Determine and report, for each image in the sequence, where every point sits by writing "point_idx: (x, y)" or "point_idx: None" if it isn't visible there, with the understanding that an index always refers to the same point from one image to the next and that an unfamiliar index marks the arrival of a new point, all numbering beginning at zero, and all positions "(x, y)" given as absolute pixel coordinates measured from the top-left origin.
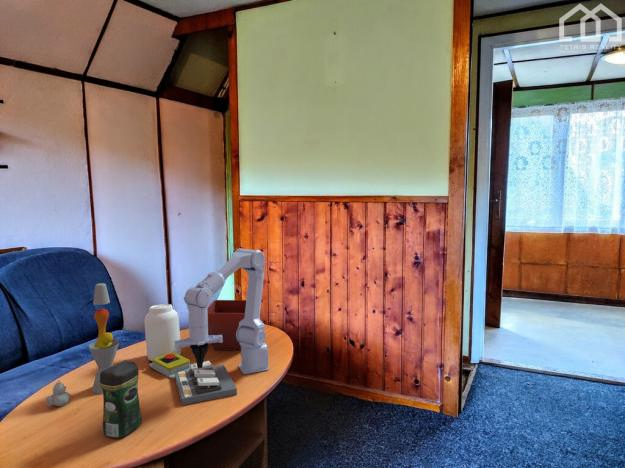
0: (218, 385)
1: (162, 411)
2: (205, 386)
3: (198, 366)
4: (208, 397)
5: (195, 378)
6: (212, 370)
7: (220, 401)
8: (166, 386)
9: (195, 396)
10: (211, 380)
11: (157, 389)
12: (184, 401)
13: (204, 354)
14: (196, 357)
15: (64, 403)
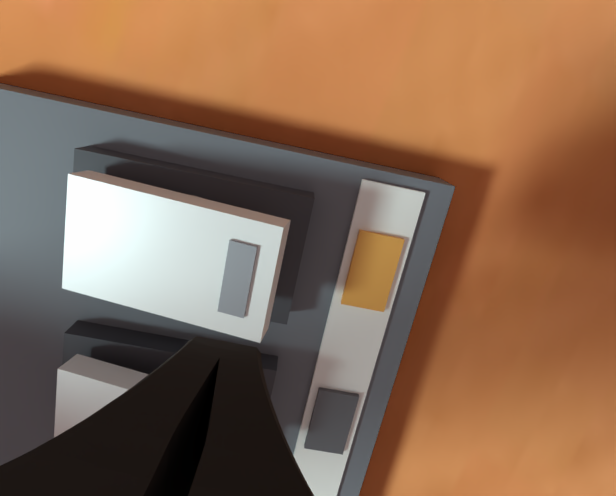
0: None
1: (589, 174)
2: None
3: (252, 355)
4: (228, 134)
5: None
6: None
7: (152, 46)
8: (411, 489)
9: (339, 161)
10: (136, 238)
11: (474, 482)
12: (425, 177)
13: (16, 482)
14: (281, 484)
15: None
